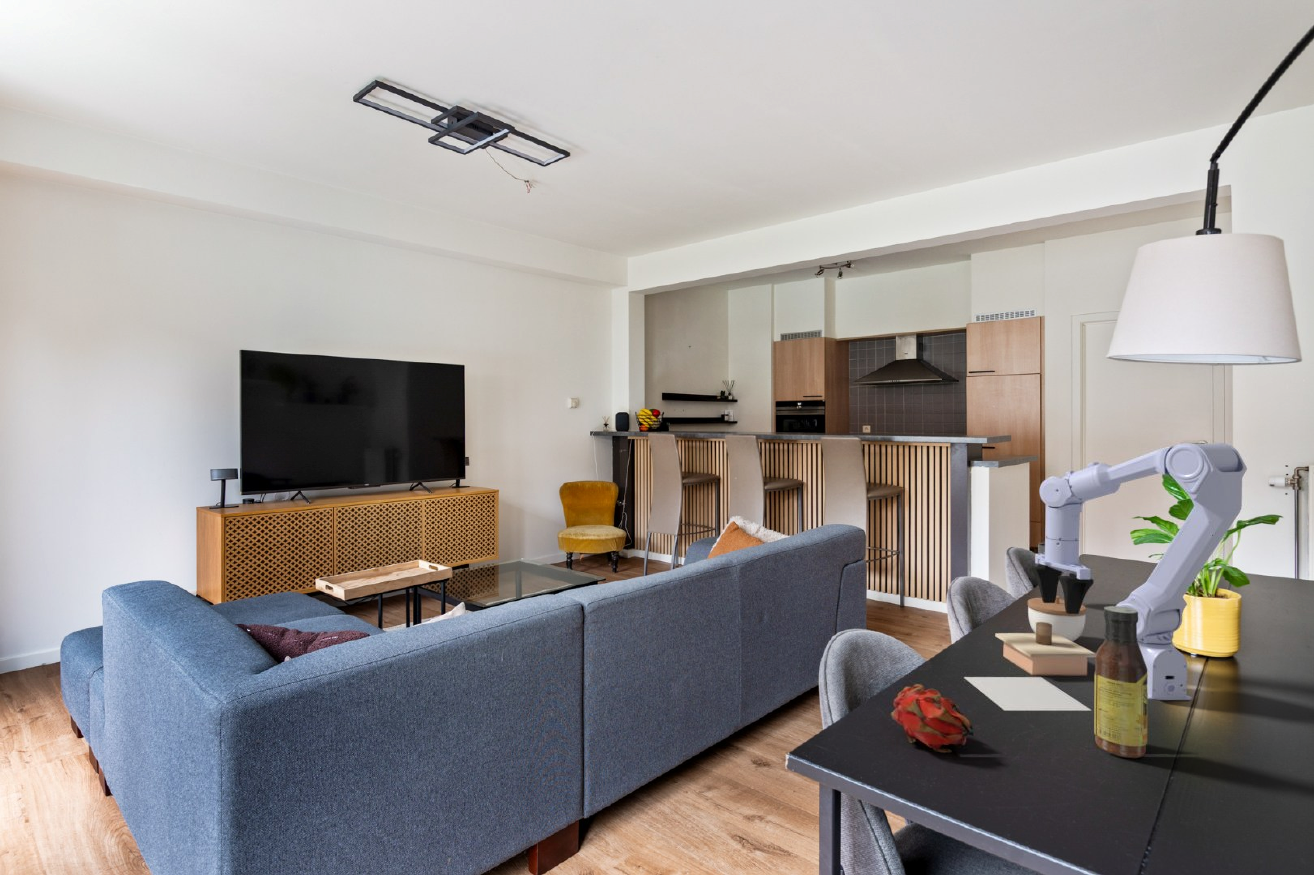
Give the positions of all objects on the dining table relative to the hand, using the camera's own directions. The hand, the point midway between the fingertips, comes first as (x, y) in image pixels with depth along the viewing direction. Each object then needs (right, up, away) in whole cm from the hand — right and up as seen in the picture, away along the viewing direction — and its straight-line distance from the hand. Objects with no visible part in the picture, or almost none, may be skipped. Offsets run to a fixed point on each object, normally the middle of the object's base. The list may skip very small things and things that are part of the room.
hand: (1060, 607), depth 135 cm
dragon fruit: (-39, -11, -36) cm, 54 cm away
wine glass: (+22, -9, +40) cm, 47 cm away
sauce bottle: (-13, -11, -37) cm, 41 cm away
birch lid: (-6, -6, -5) cm, 10 cm away
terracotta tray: (-6, -10, -5) cm, 13 cm away
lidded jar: (+6, -10, +11) cm, 16 cm away
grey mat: (-17, -10, -18) cm, 27 cm away
